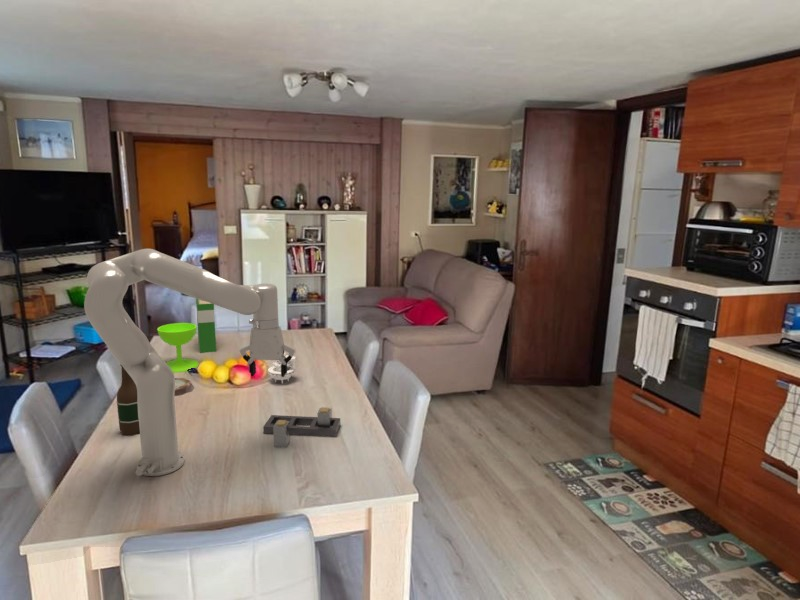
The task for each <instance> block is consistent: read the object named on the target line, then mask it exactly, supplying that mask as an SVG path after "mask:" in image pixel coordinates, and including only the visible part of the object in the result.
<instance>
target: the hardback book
mask: <svg viewBox="0 0 800 600" xmlns="http://www.w3.org/2000/svg"><path fill="white" fill-rule="evenodd" d="M195 305H196V321H197V322H196V323H197V325H196V326H197V337H198V347H199V349H198V350H199V354H204V353H216V352H217V341H216V339H217V338H216V336H217V335H216V323H215V304H212V303H209V302H206V301H202V300H199V299H196V298H195Z"/></svg>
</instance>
